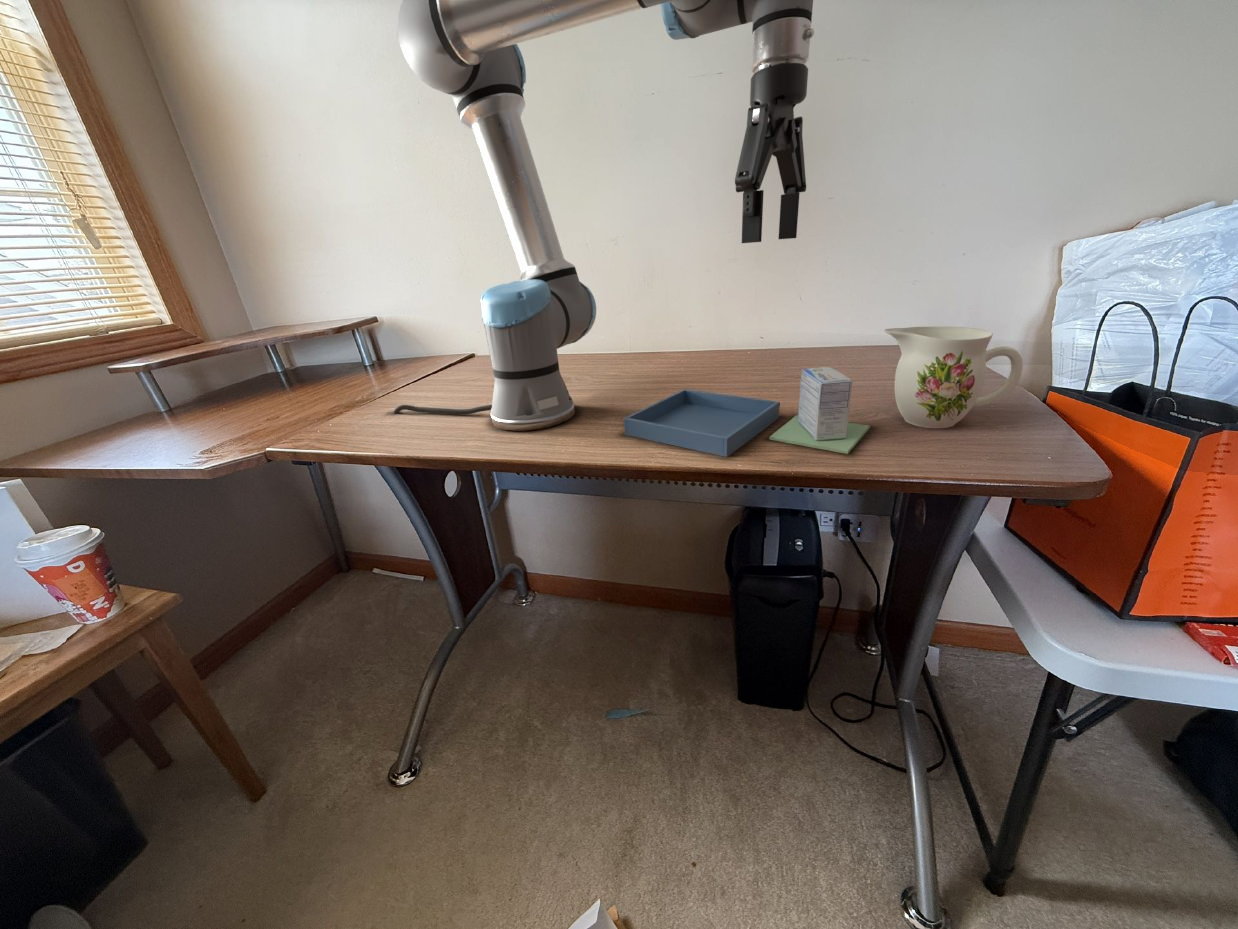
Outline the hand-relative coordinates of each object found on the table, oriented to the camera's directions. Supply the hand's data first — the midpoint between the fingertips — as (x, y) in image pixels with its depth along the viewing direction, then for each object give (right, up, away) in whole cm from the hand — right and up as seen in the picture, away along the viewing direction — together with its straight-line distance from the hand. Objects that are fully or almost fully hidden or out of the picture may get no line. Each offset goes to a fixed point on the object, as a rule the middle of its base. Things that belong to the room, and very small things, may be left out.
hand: (770, 240), depth 74 cm
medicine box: (+6, -30, -3) cm, 31 cm away
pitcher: (+25, -28, -2) cm, 38 cm away
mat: (+6, -30, -3) cm, 31 cm away
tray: (-10, -29, +4) cm, 30 cm away
